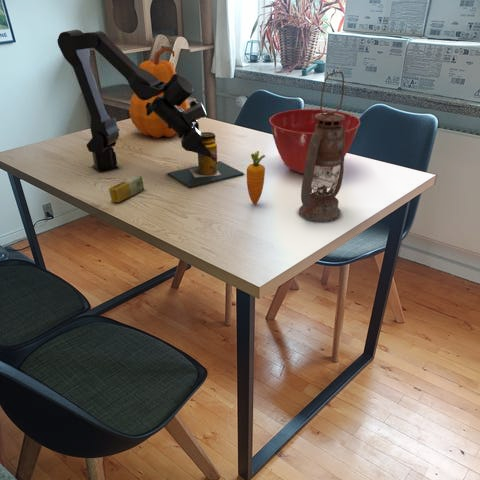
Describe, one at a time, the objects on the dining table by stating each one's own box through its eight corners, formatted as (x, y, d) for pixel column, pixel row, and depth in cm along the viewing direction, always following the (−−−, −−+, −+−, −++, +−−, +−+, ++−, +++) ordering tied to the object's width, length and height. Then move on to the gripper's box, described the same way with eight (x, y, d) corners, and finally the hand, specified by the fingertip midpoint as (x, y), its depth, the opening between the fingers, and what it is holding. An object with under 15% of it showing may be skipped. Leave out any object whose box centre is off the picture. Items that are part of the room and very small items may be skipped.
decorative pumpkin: (192, 124, 204) (188, 42, 186) (191, 141, 185) (186, 51, 167) (135, 125, 203) (125, 42, 185) (128, 142, 184) (116, 52, 166)
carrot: (253, 199, 141) (254, 147, 132) (267, 204, 139) (269, 150, 130) (242, 205, 138) (243, 151, 129) (256, 209, 136) (257, 155, 127)
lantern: (284, 216, 132) (294, 73, 111) (321, 199, 142) (336, 64, 121) (317, 229, 126) (333, 80, 105) (353, 210, 135) (374, 70, 115)
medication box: (137, 188, 148) (135, 175, 145) (144, 189, 146) (142, 176, 144) (111, 201, 139) (108, 188, 137) (118, 202, 138) (115, 188, 136)
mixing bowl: (259, 179, 154) (261, 128, 145) (275, 151, 177) (278, 105, 167) (350, 187, 149) (358, 135, 140) (355, 157, 171) (362, 111, 162)
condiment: (221, 175, 155) (220, 136, 148) (195, 178, 153) (193, 138, 146) (214, 167, 161) (213, 129, 154) (189, 170, 159) (187, 132, 151)
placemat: (189, 188, 148) (189, 186, 148) (167, 174, 157) (167, 172, 157) (243, 174, 157) (243, 173, 157) (219, 162, 166) (219, 161, 166)
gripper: (191, 101, 135) (231, 140, 143) (187, 86, 150) (223, 123, 158) (164, 131, 139) (205, 168, 147) (163, 114, 154) (200, 149, 161)
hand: (209, 151), depth 153 cm, fingers open, 9 cm apart
